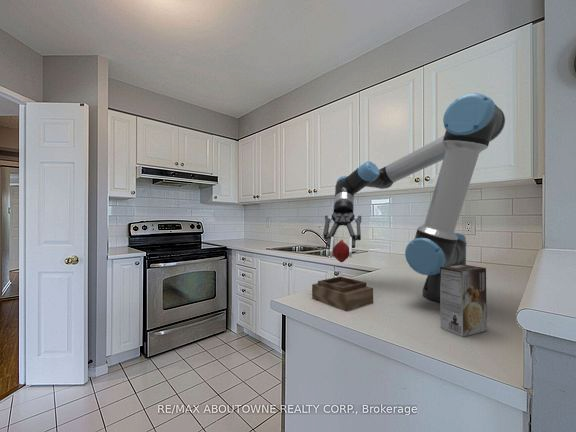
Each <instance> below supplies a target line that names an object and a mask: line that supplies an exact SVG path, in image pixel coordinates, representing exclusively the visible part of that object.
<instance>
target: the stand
mask: <svg viewBox="0 0 576 432" xmlns="http://www.w3.org/2000/svg"><path fill="white" fill-rule="evenodd" d="M311 299H312V300H314V301H318V302H320V303H324V304H325V305H329V306H331V307H334V308H337V309H340V310H343V311H345V312H349V311H353V310H355V309H358V308H361V307H362V308H363V307H364V306H367V305H372V304H374V288H373V287H371V286H367V282H365V281H362V280H356V279H353V278H349V277H345V276H337V277H331V278H326V279H322V280H318V281H317V283H312V284H311Z"/></svg>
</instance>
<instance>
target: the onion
mask: <svg viewBox="0 0 576 432" xmlns="http://www.w3.org/2000/svg"><path fill="white" fill-rule="evenodd" d="M333 257H334V258H335V259H336V260H337V261H338V262H340V263H344V262H345V261H346V260H347V259H348V258H350V257H349V245H348V244H347V243H345V242H344V239H339V241H338V242H337V243H336V244H334V247H333Z"/></svg>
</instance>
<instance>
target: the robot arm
mask: <svg viewBox="0 0 576 432" xmlns="http://www.w3.org/2000/svg"><path fill="white" fill-rule="evenodd" d="M442 122H443V127H444V129H445V133H444V135H442V136H441V137H439V138H437V139H434V140H433V141H432V142H430V143H427V144H425V145H423V146H422V147H420V148H418V149H416V150H414V151H412V152H410V153H408V154H407V155H405V156H403V157H401V158H399V159H397V160H395V161H393V162H390V163H389V164H387V165H386V166H383V167H382V168H378V167H379V166H377V165H376V163H373V162H372V161H369V160H368V161H366V162H364V163H363V164H361V165H359V166H358V167H357V168H356V169H355V170H353V171H352V172H351V173H350V174H349V175H343V176H340V177H339V178H337V180H336V184H335V187H334V189H335V190H334V191H335V192H334V202H333V203H334V204H333V211H332V214H331V215H330V216H328V215H325V216H324V221H325V222H324V228H323V232H322V234H323V235H322V236H323V239H324V240H327V247H328V248H330V249H329V256H330V257H334V255H333V249H334V247H335V244H334V243H335V239H334V238H335V237H334V236H335V235H336V233H337V231H338V229H339V227H340V226H344V227H345V226H346V229H347V231H348V233H349V245H348V247H349V257H348V258H353V257H352V255H353V254H352V253H353V250H352V249H356V241H361V239H362V234H361V231H362V230H361V223H362V216H361V215H358V216H356V215H355V214H354V204H355V203H354V202H355V197H354V196H355V195H356V194H357V193H359V191H361V190H363V189H365V187H366V188H367V187H368V188H374V189H375V188H376V189H381V190H384V189H389V188H391V187H392V186H393V184H394V183H396V182H398V181H400V180H402V179H405V178H407V177H409V176H411V175H413V174H415V173H417V172H419V171H422V170H424V169H427V168H428V167H431V166H433V165H436V164H437V163H439V162H442V163H441V166H440V169H439V173H438V176H437V179H436V183H435V186H434V190H433V192H432V193H433V194H432V196H431V200H430V203H429V207H428V209H427V213H426V217H425V220H424V223H423V224H422V225H420V226H418V227H417V229H416V233H415V236H414V239H412V240H410V241H409V243H407V245H406V248H405V249H404V250H405V252H404V253H405V254H404V255H405V256H404V257H405V259H406V262H407V264H408V266H409V267H410V269H412V270H413V271H414V272H416V273H417V274H419V275H423V276H426V279H425V281H424V284H423V288H422V296H423V297H424V298H426V299H428V300H430V301H434V302H439V303H440V267H444V266H453V265H462V264H463V265H467V240H466V235H465V234H463V233H460V232H459V233H458V232H455V230H456V227H457V225H458V221H459V218H460V215H461V212H462V208H463V205H464V203H465V199H466V196H467V193H468V190H469V187H470V184H471V180H472V177H473V174H474V171H475V169H476V165H477V162H478V158H479V155H480V153H482V152H483V151H485V150H487V149H488V148H489V144H490V142H492V141H493V140H495V139H496V138H497V137H499V135H500V134H501V133H502V131H503V130H504V127H505V124H506V117H505V114H504V112H503V110H502V109H501V108H500V107H498V106H497V104H496V103H495V102H494V100H493V99H492V98H491V97H490V96H488V95H484V94H482V93H478V92H473V93H471V92H470V93H467V94H463V95H461V96H460V97H458V98H456V99H455V100H453V101H452V102H451V103H450V104H449V105H448V106H447V108H446V109H445V112H444V114H443V119H442ZM332 221H333V224H332V227H331V229H329V228H330V224H331V222H332ZM353 221H354V222H355V223H356V233H355V231H354V228H353V225H352V222H353Z"/></svg>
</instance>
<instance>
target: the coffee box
mask: <svg viewBox="0 0 576 432" xmlns="http://www.w3.org/2000/svg"><path fill="white" fill-rule="evenodd" d="M439 303H440V305H439V307H440V329H442V330H445V331H448V332H451V333H453V334H455V335H457V336H459V337H461V338H466V337H469V336H472V335H476V334H479V333H482V332H486V331H487V330H488V328H487V327H488V326H487V325H488V323H487V322H488V321H487V317H488V316H487V313H488V312H487V310H488V309H487V268H486V267H480V266H475V265H468V264H466V265H463V264H462V265H453V266H444V267H440V302H439Z"/></svg>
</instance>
